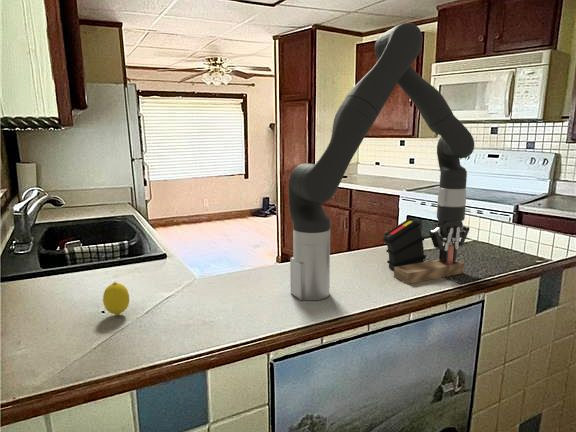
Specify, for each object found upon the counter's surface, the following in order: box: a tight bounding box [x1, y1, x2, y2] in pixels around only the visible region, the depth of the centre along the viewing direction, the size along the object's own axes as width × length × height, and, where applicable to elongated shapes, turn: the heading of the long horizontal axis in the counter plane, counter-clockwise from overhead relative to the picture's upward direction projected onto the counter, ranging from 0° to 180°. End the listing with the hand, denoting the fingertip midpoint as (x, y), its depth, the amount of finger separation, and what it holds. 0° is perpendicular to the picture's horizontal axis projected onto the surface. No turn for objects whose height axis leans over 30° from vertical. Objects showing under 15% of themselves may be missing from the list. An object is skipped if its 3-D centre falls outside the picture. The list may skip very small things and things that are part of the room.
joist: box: [393, 258, 465, 285], centre depth 122 cm, size 20×6×3 cm, turn 115°
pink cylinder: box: [444, 242, 454, 265], centre depth 124 cm, size 3×3×9 cm
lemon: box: [102, 281, 130, 316], centre depth 96 cm, size 6×6×8 cm
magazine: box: [382, 217, 427, 271], centre depth 128 cm, size 4×13×15 cm, turn 111°
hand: (447, 261), depth 124 cm, fingers closed on pink cylinder, 2 cm apart
